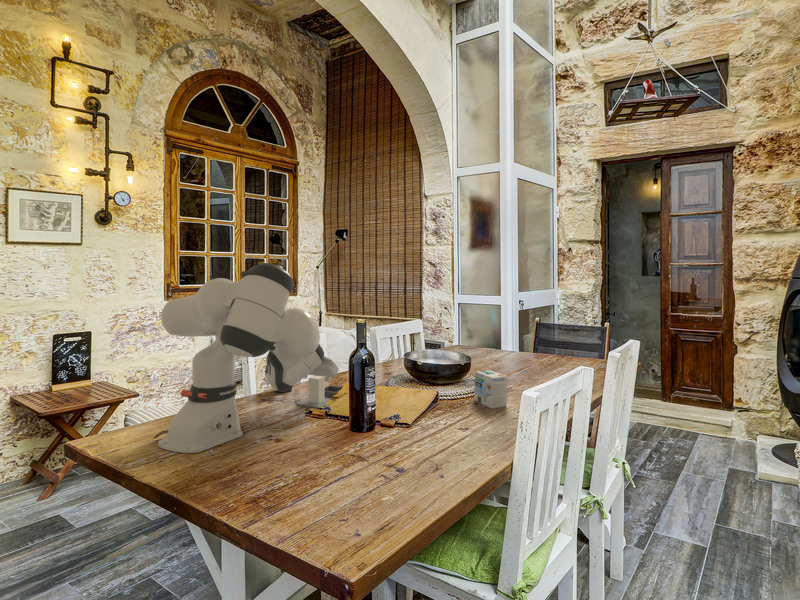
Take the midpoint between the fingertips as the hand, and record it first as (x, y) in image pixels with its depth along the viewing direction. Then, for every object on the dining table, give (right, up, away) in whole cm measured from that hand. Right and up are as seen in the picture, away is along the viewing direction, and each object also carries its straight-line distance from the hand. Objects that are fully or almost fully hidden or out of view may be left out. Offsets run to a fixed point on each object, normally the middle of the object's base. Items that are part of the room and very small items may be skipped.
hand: (317, 378), depth 166 cm
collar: (+4, -8, +11) cm, 14 cm away
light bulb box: (+61, -10, +2) cm, 62 cm away
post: (0, -8, 0) cm, 8 cm away
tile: (0, -9, 0) cm, 9 cm away
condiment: (-15, -8, +14) cm, 22 cm away
